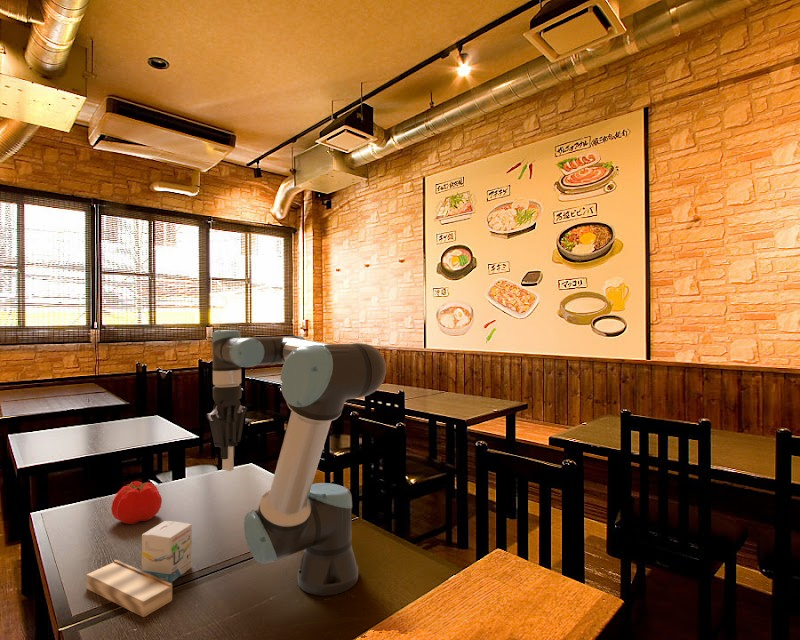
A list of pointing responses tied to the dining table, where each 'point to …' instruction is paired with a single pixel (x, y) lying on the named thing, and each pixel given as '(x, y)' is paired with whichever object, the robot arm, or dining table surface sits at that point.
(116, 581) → the plank
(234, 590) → the dining table surface
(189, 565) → the ink box
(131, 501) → the tomato
